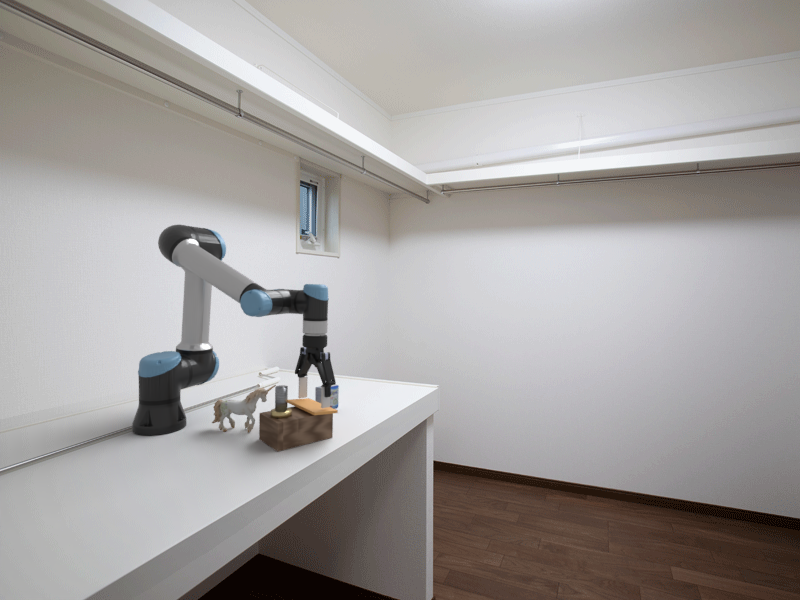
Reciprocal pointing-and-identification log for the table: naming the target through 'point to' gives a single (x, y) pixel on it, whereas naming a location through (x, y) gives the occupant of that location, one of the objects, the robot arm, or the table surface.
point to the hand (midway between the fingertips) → (313, 402)
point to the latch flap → (311, 406)
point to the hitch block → (294, 429)
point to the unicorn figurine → (239, 408)
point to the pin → (281, 403)
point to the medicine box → (332, 398)
